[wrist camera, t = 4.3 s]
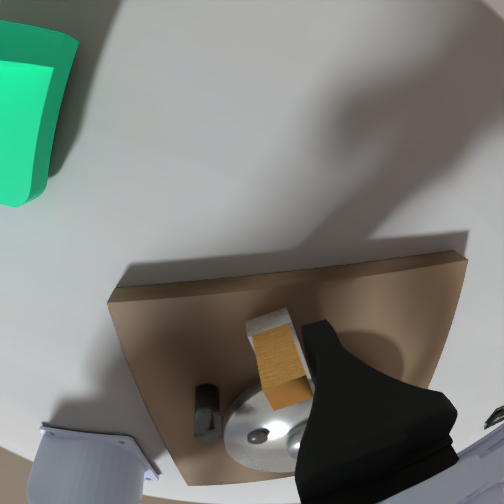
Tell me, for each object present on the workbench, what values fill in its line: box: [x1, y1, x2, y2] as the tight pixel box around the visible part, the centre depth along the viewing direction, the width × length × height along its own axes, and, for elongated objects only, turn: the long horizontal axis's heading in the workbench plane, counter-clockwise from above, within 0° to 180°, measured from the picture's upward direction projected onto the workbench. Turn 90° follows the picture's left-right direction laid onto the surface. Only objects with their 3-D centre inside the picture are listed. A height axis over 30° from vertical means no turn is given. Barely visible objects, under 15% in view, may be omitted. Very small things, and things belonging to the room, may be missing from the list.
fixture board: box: [107, 250, 468, 486], centre depth 19 cm, size 20×20×2 cm
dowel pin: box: [194, 383, 222, 443], centre depth 15 cm, size 1×1×3 cm
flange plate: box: [223, 307, 377, 472], centre depth 15 cm, size 15×11×5 cm
